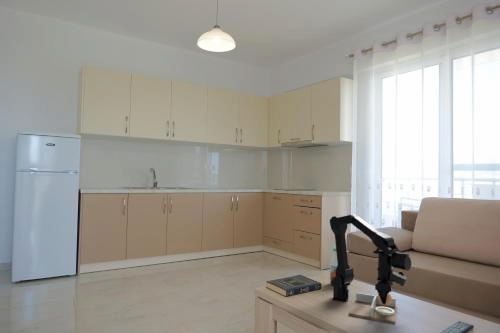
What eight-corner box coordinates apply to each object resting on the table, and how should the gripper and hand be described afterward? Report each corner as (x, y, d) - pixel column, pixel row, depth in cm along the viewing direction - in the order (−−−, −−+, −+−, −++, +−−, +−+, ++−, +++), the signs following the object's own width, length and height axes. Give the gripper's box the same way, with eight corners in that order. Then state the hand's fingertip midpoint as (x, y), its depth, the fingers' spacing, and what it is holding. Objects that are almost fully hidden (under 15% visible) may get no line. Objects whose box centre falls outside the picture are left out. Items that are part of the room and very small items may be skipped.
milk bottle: (326, 283, 188) (327, 246, 189) (338, 282, 191) (338, 246, 192) (335, 287, 181) (336, 249, 182) (347, 286, 184) (347, 248, 185)
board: (348, 315, 144) (348, 304, 144) (355, 302, 160) (355, 292, 160) (395, 324, 136) (395, 312, 136) (396, 309, 152) (396, 298, 152)
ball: (377, 305, 145) (377, 292, 145) (378, 301, 150) (378, 288, 150) (391, 307, 143) (391, 294, 143) (391, 303, 148) (392, 290, 148)
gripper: (405, 273, 135) (404, 313, 134) (405, 263, 152) (405, 298, 151) (375, 269, 140) (374, 308, 139) (379, 260, 157) (378, 294, 156)
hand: (384, 302), depth 146 cm, fingers closed on ball, 5 cm apart
